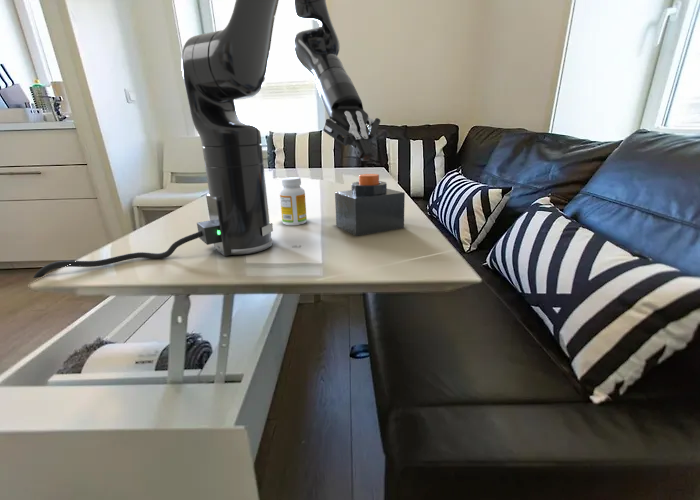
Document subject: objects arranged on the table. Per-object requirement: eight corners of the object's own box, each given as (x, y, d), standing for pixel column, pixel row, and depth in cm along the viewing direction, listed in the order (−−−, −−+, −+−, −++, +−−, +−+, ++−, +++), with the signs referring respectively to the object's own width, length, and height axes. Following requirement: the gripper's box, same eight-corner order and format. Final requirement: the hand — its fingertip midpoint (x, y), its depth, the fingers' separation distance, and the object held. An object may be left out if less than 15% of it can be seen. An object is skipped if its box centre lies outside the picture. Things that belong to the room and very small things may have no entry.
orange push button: (365, 187, 69) (365, 176, 68) (355, 185, 72) (355, 174, 71) (382, 185, 70) (382, 175, 70) (372, 183, 74) (372, 173, 73)
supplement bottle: (305, 218, 82) (302, 176, 79) (308, 224, 77) (305, 179, 74) (281, 220, 81) (277, 177, 78) (283, 226, 76) (279, 180, 73)
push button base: (356, 236, 68) (355, 188, 65) (336, 226, 75) (334, 183, 72) (404, 228, 72) (405, 183, 69) (380, 219, 80) (380, 178, 77)
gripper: (313, 79, 71) (341, 145, 64) (371, 81, 76) (403, 142, 70) (306, 110, 77) (331, 173, 70) (360, 109, 82) (388, 168, 76)
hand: (367, 157), depth 70 cm, fingers closed
